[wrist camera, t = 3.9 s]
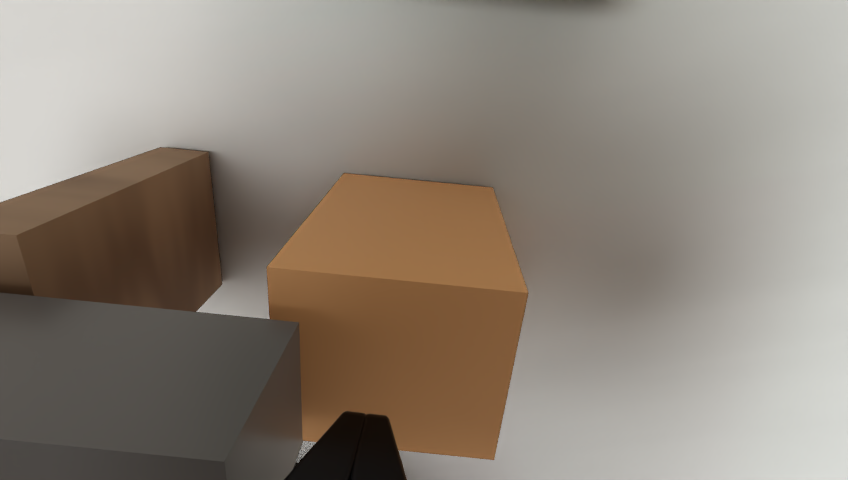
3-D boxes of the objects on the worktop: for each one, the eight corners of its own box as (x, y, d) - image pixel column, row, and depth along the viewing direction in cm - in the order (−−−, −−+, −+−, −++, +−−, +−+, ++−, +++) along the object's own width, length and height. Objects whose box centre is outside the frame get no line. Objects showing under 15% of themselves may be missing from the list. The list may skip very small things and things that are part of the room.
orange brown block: (475, 301, 17) (494, 460, 10) (342, 287, 17) (276, 438, 10) (492, 187, 15) (528, 292, 8) (343, 172, 15) (266, 267, 8)
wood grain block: (222, 283, 17) (76, 437, 10) (180, 279, 17) (7, 430, 10) (208, 152, 15) (16, 235, 8) (160, 147, 15) (-70, 226, 8)
